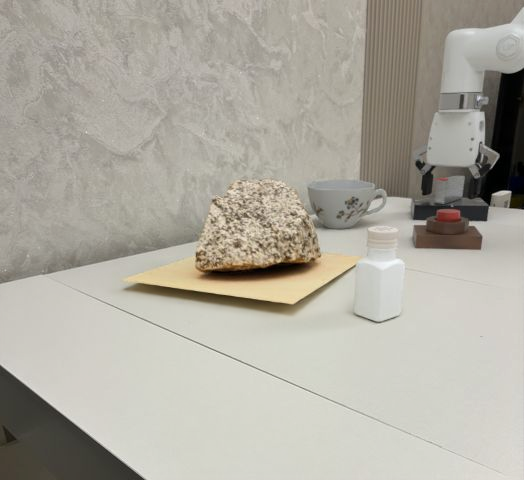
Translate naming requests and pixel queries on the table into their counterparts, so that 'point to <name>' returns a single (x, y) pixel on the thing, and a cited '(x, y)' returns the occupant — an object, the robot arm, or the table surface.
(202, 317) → the table surface
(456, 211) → the button
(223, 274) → the rock
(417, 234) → the button block
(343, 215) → the teacup
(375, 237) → the salt shaker
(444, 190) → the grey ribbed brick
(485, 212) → the faucet plate
